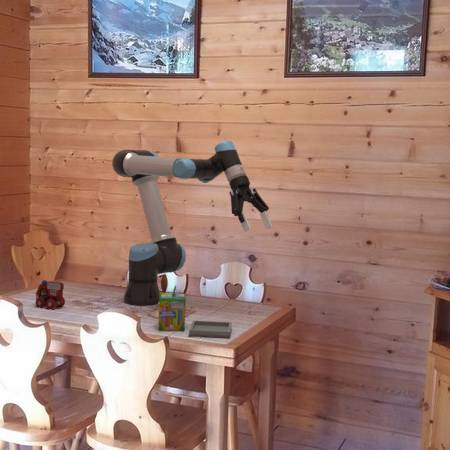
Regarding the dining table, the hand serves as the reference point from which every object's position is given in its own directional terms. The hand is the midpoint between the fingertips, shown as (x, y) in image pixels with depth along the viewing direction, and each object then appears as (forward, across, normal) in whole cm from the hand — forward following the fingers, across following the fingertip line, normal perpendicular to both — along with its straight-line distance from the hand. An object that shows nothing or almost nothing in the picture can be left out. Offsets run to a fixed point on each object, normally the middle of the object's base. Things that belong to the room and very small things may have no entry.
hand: (258, 229), depth 256 cm
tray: (+30, -31, +13) cm, 45 cm away
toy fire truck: (-4, -48, +72) cm, 86 cm away
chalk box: (+24, -36, +25) cm, 50 cm away
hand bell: (+17, -26, +37) cm, 48 cm away
